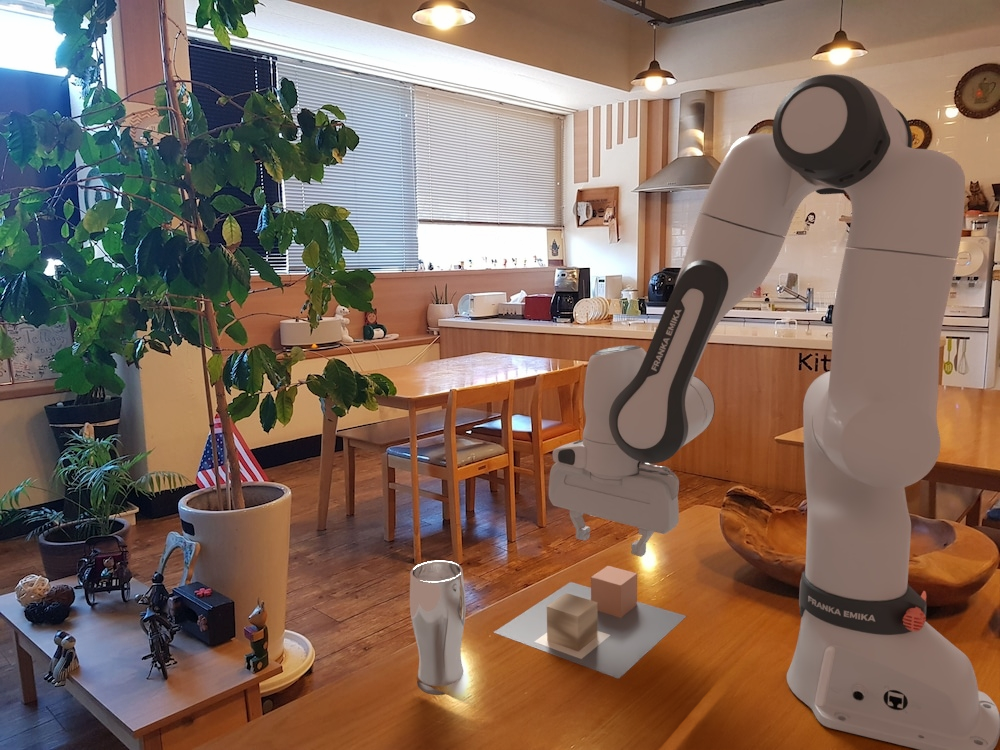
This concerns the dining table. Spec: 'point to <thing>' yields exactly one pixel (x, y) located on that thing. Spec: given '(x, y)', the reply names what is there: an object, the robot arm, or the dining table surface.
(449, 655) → the beer glass
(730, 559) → the dining table surface
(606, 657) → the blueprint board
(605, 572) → the terracotta block
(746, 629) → the dining table surface
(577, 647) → the maple block
